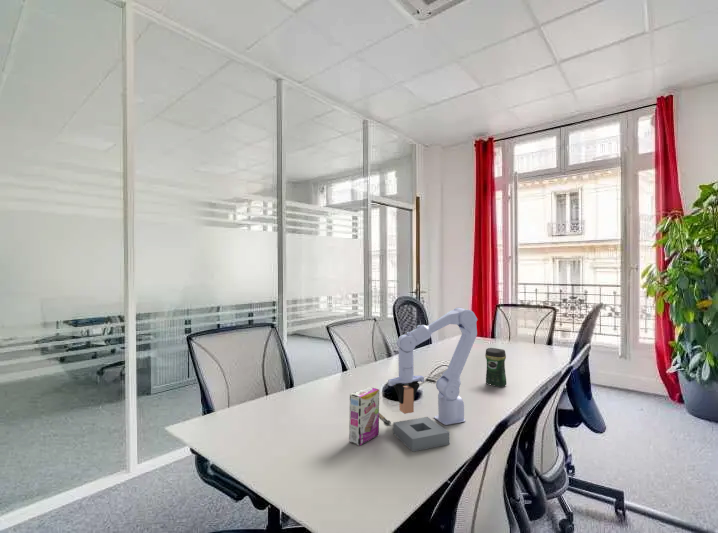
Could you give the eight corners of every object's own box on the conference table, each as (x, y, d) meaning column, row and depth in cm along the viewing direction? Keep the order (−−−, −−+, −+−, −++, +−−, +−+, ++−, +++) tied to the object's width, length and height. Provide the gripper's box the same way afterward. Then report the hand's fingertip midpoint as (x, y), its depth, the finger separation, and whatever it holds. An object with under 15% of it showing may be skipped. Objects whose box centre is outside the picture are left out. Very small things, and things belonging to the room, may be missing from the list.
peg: (408, 408, 142) (408, 385, 142) (413, 412, 139) (413, 388, 139) (399, 410, 141) (399, 386, 141) (404, 413, 137) (404, 389, 137)
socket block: (427, 427, 135) (427, 416, 135) (449, 444, 122) (449, 432, 122) (393, 433, 130) (393, 422, 130) (412, 451, 117) (412, 439, 117)
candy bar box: (360, 447, 120) (360, 397, 120) (348, 442, 123) (348, 394, 124) (380, 435, 129) (379, 388, 129) (369, 431, 132) (368, 386, 132)
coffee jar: (508, 385, 185) (508, 348, 186) (501, 388, 180) (501, 351, 180) (490, 381, 192) (490, 346, 193) (483, 384, 187) (482, 348, 187)
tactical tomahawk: (359, 410, 155) (359, 407, 156) (374, 406, 158) (374, 404, 158) (376, 429, 136) (376, 426, 136) (393, 425, 138) (393, 422, 138)
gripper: (417, 362, 146) (417, 396, 146) (384, 366, 141) (384, 401, 141) (426, 366, 140) (427, 402, 139) (392, 370, 135) (392, 407, 134)
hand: (406, 402), depth 140 cm, fingers closed on peg, 4 cm apart
